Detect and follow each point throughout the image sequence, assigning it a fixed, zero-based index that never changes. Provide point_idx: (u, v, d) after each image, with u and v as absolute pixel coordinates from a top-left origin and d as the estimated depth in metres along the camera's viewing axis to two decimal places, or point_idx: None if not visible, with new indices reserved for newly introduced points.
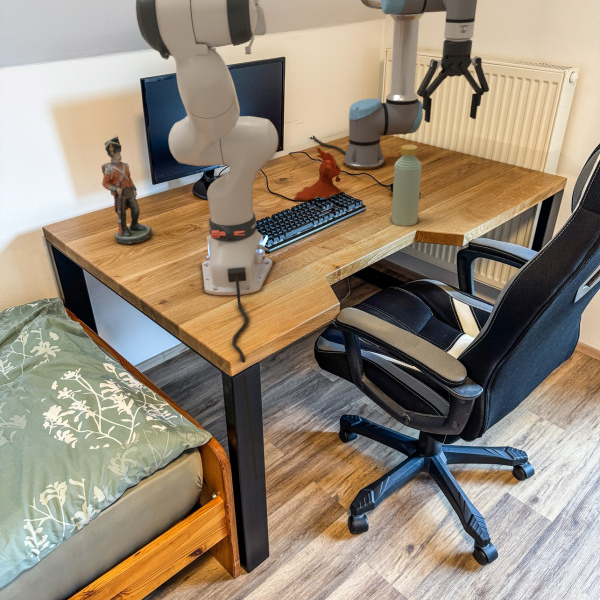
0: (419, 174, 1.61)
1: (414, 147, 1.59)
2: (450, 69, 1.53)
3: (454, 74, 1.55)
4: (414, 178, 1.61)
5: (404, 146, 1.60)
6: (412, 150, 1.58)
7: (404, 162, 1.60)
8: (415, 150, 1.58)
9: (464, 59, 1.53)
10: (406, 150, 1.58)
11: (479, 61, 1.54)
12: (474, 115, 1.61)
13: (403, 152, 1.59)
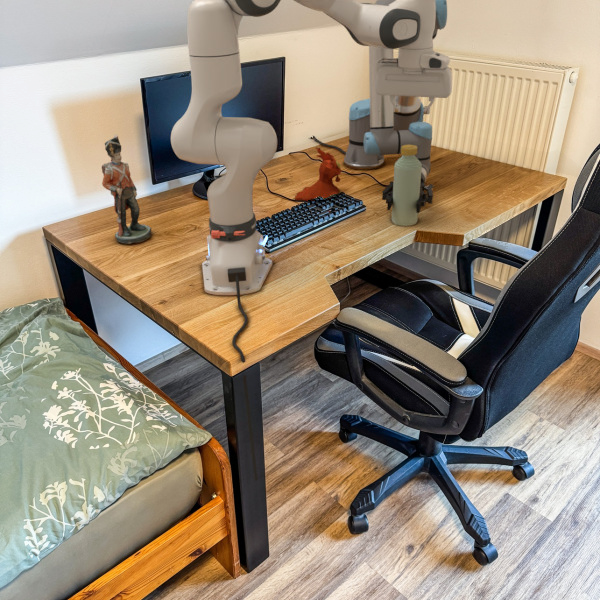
0: (419, 174, 1.61)
1: (414, 147, 1.59)
2: None
3: None
4: (414, 178, 1.61)
5: (404, 146, 1.60)
6: (412, 150, 1.58)
7: (404, 162, 1.60)
8: (415, 150, 1.58)
9: None
10: (406, 150, 1.58)
11: None
12: None
13: (403, 152, 1.59)
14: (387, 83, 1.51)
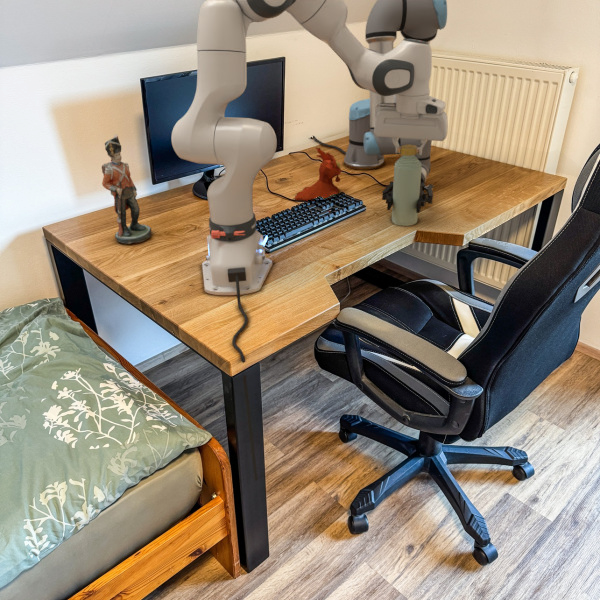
0: (419, 174, 1.61)
1: (414, 147, 1.59)
2: None
3: None
4: (414, 178, 1.61)
5: (404, 146, 1.60)
6: (412, 150, 1.58)
7: (404, 162, 1.60)
8: (415, 150, 1.58)
9: None
10: (406, 150, 1.58)
11: None
12: None
13: (403, 152, 1.59)
14: (385, 126, 1.57)
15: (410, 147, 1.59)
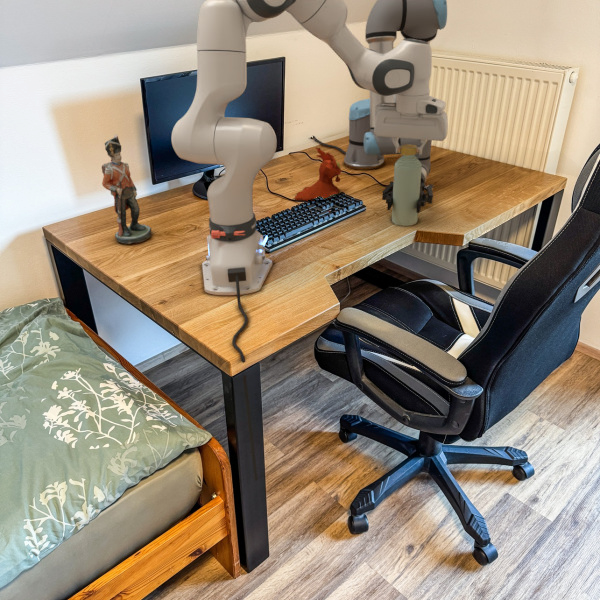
0: (419, 174, 1.61)
1: (411, 145, 1.61)
2: None
3: None
4: (414, 178, 1.61)
5: (407, 147, 1.58)
6: None
7: (404, 162, 1.60)
8: None
9: None
10: None
11: None
12: None
13: (414, 152, 1.58)
14: (385, 126, 1.57)
15: (411, 146, 1.60)
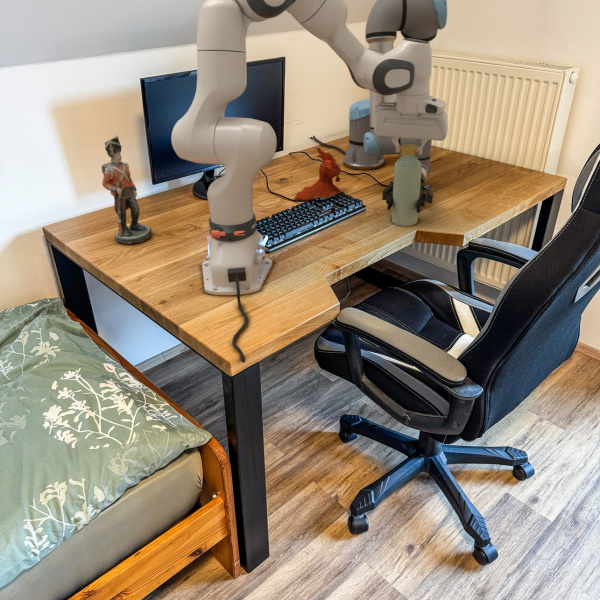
0: (419, 174, 1.61)
1: (404, 145, 1.60)
2: None
3: None
4: (414, 178, 1.61)
5: (413, 147, 1.59)
6: None
7: (404, 162, 1.60)
8: None
9: None
10: None
11: None
12: None
13: None
14: (385, 126, 1.57)
15: (408, 145, 1.60)
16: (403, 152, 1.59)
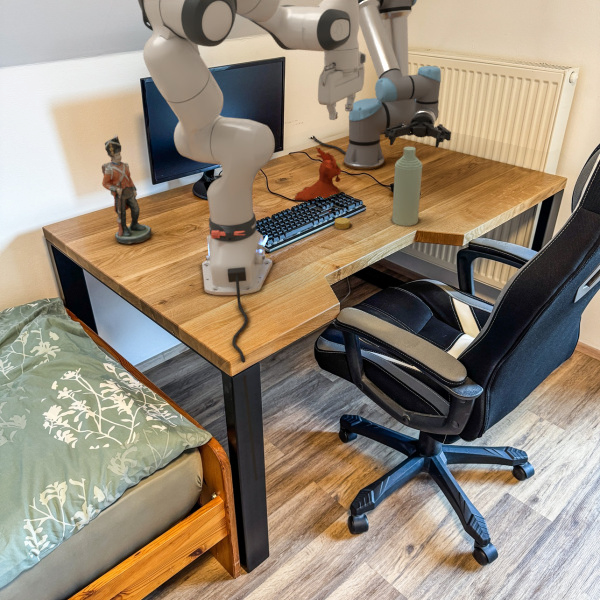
0: (420, 174, 1.61)
1: (346, 219, 1.69)
2: None
3: (420, 133, 1.79)
4: (414, 178, 1.61)
5: (338, 221, 1.68)
6: (349, 222, 1.68)
7: (405, 162, 1.60)
8: None
9: None
10: (345, 224, 1.67)
11: None
12: None
13: (342, 227, 1.68)
14: (335, 90, 1.42)
15: (344, 220, 1.69)
16: None
